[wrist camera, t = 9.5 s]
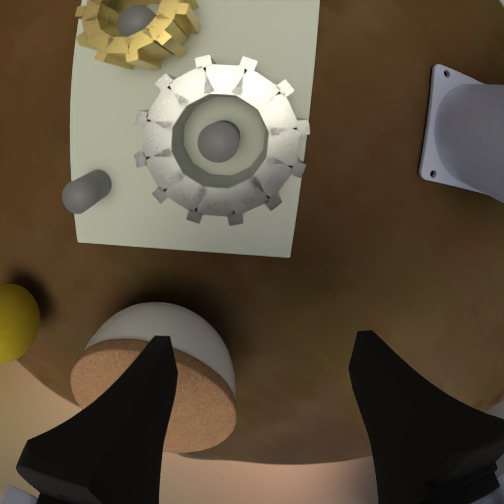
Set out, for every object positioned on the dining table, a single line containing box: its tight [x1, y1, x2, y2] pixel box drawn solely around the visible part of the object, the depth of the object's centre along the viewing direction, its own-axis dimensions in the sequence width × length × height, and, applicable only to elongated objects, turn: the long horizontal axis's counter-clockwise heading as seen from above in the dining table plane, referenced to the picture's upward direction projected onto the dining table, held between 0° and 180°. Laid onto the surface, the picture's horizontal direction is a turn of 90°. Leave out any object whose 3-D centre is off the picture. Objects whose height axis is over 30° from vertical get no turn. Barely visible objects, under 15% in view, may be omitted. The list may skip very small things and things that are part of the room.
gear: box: [134, 55, 310, 226], centre depth 15 cm, size 8×8×3 cm
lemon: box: [0, 283, 40, 363], centre depth 19 cm, size 6×6×8 cm
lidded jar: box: [70, 302, 237, 453], centre depth 20 cm, size 11×11×9 cm
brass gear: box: [75, 0, 201, 71], centre depth 12 cm, size 6×6×4 cm
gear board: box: [62, 0, 320, 258], centre depth 14 cm, size 14×18×5 cm
